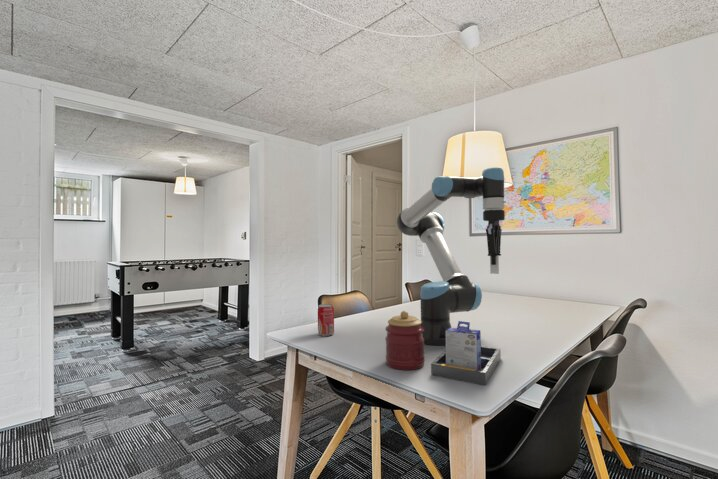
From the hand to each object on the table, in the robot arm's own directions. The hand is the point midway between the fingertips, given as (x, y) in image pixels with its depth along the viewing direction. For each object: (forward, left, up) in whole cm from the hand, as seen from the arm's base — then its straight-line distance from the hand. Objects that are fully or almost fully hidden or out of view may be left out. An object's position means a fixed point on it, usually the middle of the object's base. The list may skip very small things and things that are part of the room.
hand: (494, 273), depth 133 cm
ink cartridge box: (-5, -28, -28) cm, 40 cm away
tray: (-5, -23, -28) cm, 37 cm away
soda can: (-69, -13, -29) cm, 75 cm away
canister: (-24, -30, -29) cm, 47 cm away
